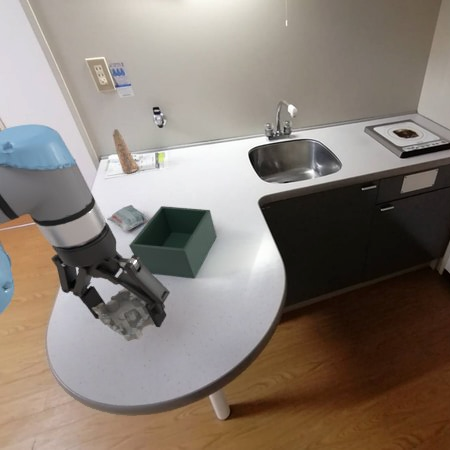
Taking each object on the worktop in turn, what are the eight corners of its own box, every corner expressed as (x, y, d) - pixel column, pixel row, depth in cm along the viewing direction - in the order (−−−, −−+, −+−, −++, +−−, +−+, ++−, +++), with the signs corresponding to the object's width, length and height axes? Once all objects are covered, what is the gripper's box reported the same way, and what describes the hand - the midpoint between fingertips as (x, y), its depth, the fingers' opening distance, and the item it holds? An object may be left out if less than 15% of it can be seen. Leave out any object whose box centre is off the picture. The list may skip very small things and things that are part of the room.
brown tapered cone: (141, 168, 135) (128, 168, 135) (128, 127, 125) (113, 127, 126) (134, 174, 129) (120, 174, 130) (119, 130, 120) (104, 131, 120)
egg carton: (97, 320, 59) (87, 307, 56) (132, 293, 64) (124, 280, 61) (130, 348, 54) (121, 335, 52) (165, 317, 59) (158, 304, 57)
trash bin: (142, 272, 87) (128, 245, 80) (171, 232, 100) (161, 206, 94) (194, 278, 85) (185, 251, 78) (216, 236, 99) (209, 209, 92)
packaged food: (126, 237, 99) (120, 225, 96) (108, 223, 104) (102, 211, 101) (151, 224, 104) (146, 212, 101) (133, 211, 110) (128, 200, 107)
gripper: (167, 223, 47) (198, 308, 61) (28, 210, 50) (87, 294, 63) (141, 258, 41) (181, 343, 55) (-15, 241, 44) (61, 326, 58)
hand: (131, 316), depth 59 cm, fingers closed on egg carton, 12 cm apart
